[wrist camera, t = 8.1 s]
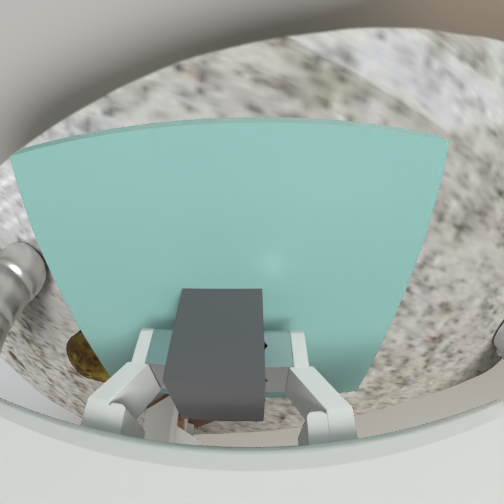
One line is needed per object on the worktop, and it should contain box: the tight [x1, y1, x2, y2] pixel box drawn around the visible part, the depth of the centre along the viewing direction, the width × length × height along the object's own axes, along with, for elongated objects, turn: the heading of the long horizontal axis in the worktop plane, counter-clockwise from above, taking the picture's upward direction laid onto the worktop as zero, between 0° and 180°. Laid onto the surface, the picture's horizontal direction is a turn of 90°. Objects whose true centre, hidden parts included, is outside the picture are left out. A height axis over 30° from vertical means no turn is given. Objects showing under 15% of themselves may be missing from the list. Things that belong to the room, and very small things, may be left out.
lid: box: [10, 117, 449, 421], centre depth 11 cm, size 15×15×5 cm
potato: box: [66, 330, 111, 382], centre depth 33 cm, size 8×13×8 cm, turn 20°
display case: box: [143, 393, 214, 446], centre depth 33 cm, size 11×11×35 cm
